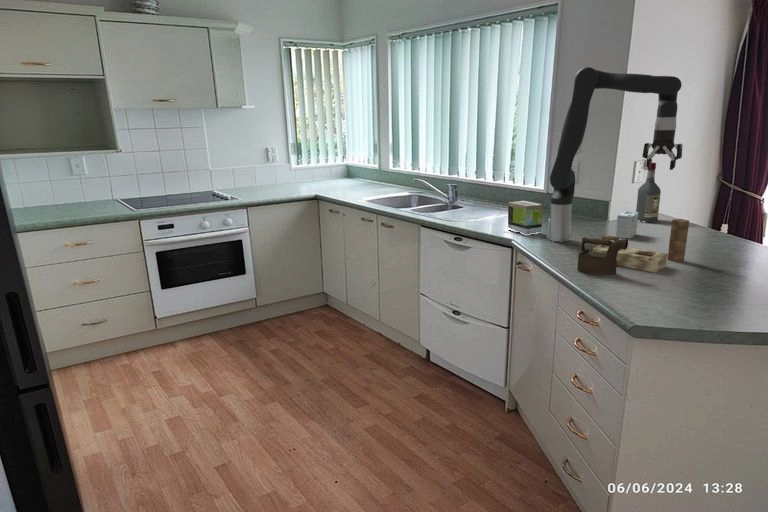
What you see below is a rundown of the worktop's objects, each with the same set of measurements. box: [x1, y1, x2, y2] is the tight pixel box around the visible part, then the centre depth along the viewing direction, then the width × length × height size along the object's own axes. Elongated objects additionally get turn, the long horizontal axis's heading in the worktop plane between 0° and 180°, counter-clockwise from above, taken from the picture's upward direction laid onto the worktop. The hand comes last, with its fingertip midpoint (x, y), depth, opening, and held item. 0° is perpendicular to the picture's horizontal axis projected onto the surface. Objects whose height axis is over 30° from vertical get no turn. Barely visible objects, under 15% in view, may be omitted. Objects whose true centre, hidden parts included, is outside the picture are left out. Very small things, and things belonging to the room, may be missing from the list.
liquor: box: [635, 162, 661, 223], centre depth 255 cm, size 9×9×30 cm
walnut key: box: [667, 218, 690, 263], centre depth 191 cm, size 4×4×16 cm
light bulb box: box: [615, 210, 639, 240], centre depth 231 cm, size 11×7×11 cm, turn 141°
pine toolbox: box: [591, 234, 668, 274], centre depth 191 cm, size 24×10×10 cm, turn 43°
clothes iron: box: [577, 237, 629, 275], centre depth 182 cm, size 8×16×13 cm, turn 48°
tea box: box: [507, 200, 544, 234], centre depth 246 cm, size 15×10×15 cm, turn 22°
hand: (660, 169), depth 206 cm, fingers open, 8 cm apart
